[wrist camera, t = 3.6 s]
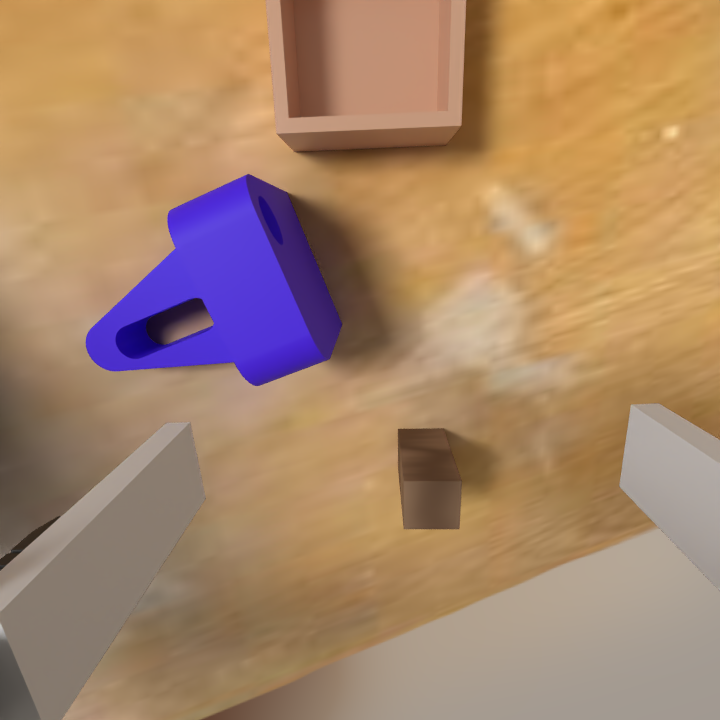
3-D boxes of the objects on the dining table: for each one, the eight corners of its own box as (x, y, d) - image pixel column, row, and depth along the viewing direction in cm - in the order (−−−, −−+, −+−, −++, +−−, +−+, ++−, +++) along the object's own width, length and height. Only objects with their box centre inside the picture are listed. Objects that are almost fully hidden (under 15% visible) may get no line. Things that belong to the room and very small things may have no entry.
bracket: (287, 192, 31) (236, 167, 19) (342, 324, 33) (325, 369, 22) (88, 281, 33) (-59, 305, 22) (155, 396, 36) (56, 470, 25)
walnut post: (398, 468, 37) (403, 529, 29) (397, 428, 36) (403, 481, 28) (442, 468, 37) (459, 529, 29) (443, 428, 36) (461, 481, 28)
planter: (294, 151, 30) (276, 133, 24) (280, -36, 26) (257, -103, 21) (445, 145, 29) (461, 125, 24) (451, -46, 26) (470, -118, 21)
